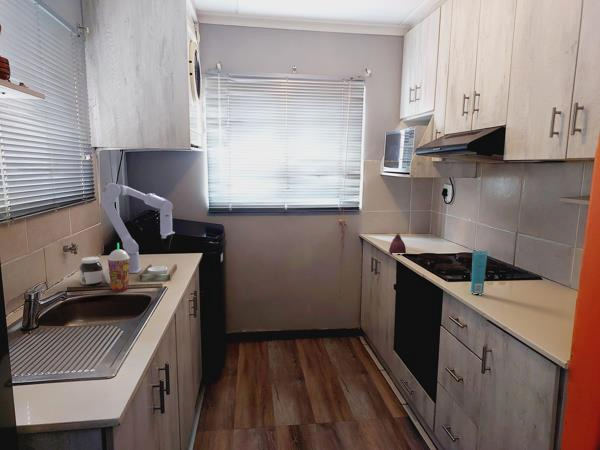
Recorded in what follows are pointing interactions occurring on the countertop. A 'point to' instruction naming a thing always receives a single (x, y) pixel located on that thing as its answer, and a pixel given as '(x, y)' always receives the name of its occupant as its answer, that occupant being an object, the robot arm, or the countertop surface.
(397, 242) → the vegetable
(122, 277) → the smoothie
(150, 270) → the ramekin
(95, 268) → the spread jar
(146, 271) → the channel
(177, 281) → the countertop surface
